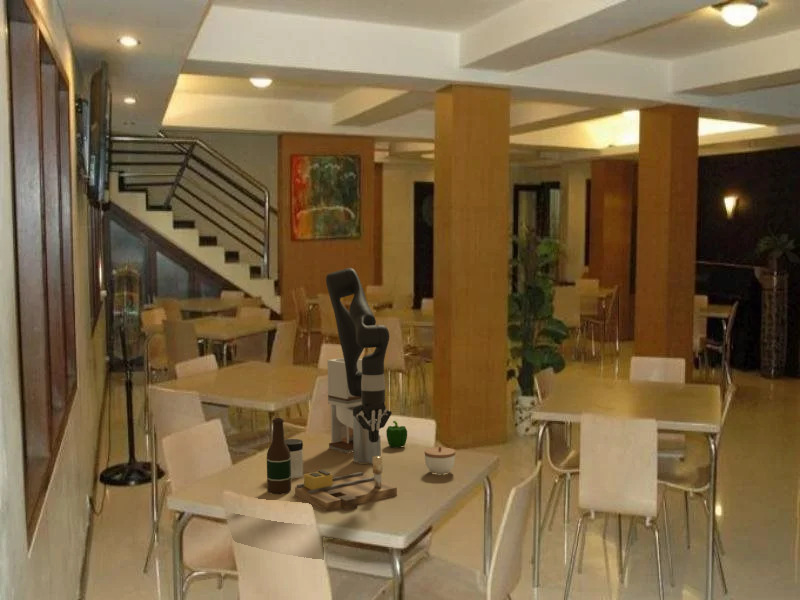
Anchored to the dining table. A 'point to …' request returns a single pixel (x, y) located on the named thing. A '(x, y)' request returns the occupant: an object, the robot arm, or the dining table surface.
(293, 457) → the jar
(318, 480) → the stud finder
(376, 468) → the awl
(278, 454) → the beer bottle
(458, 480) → the dining table surface
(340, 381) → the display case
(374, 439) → the robot arm
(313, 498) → the subfloor panel
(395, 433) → the bell pepper
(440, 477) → the dining table surface
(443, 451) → the lidded jar
